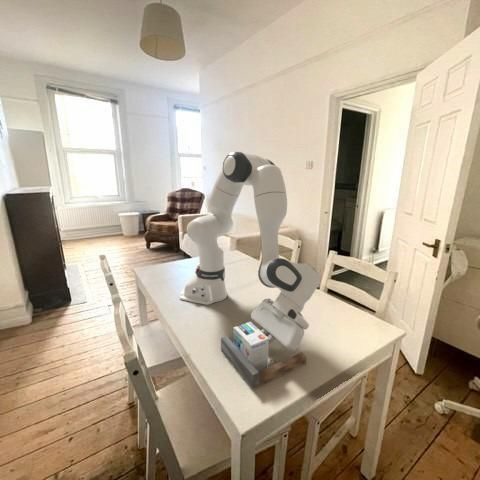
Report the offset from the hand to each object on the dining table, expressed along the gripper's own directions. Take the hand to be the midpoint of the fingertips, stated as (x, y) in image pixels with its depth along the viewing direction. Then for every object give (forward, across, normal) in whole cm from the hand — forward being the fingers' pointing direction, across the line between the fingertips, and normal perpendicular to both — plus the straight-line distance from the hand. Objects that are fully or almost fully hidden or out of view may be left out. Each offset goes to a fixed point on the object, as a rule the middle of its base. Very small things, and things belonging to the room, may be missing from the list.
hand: (260, 345), depth 85 cm
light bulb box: (+6, 0, +1) cm, 6 cm away
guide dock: (+3, 0, +4) cm, 5 cm away
